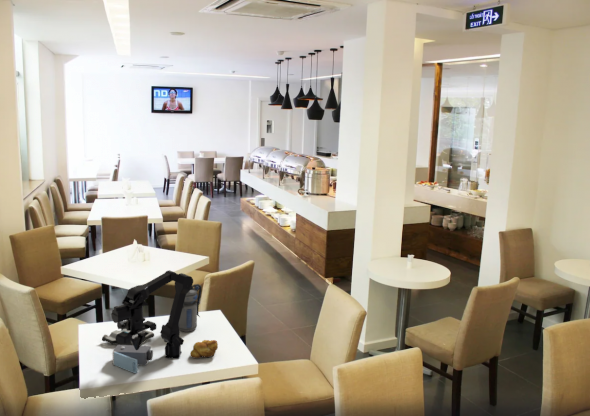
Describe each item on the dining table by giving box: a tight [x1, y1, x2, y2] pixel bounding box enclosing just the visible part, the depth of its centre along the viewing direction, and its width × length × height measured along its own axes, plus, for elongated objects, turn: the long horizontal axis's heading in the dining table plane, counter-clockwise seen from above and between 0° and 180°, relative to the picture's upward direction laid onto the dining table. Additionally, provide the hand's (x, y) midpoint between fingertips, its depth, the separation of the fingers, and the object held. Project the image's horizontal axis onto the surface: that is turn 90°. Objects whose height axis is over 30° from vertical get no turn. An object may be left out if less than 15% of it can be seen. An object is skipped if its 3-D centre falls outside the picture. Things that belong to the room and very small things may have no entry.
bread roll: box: [190, 339, 219, 359], centre depth 238 cm, size 13×10×8 cm
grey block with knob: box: [112, 344, 154, 366], centre depth 229 cm, size 17×7×7 cm, turn 91°
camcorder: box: [101, 329, 155, 345], centre depth 249 cm, size 16×20×5 cm
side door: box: [112, 351, 138, 374], centre depth 222 cm, size 15×2×6 cm, turn 61°
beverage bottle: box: [179, 283, 202, 333], centre depth 266 cm, size 10×13×25 cm
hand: (136, 349), depth 221 cm, fingers closed
